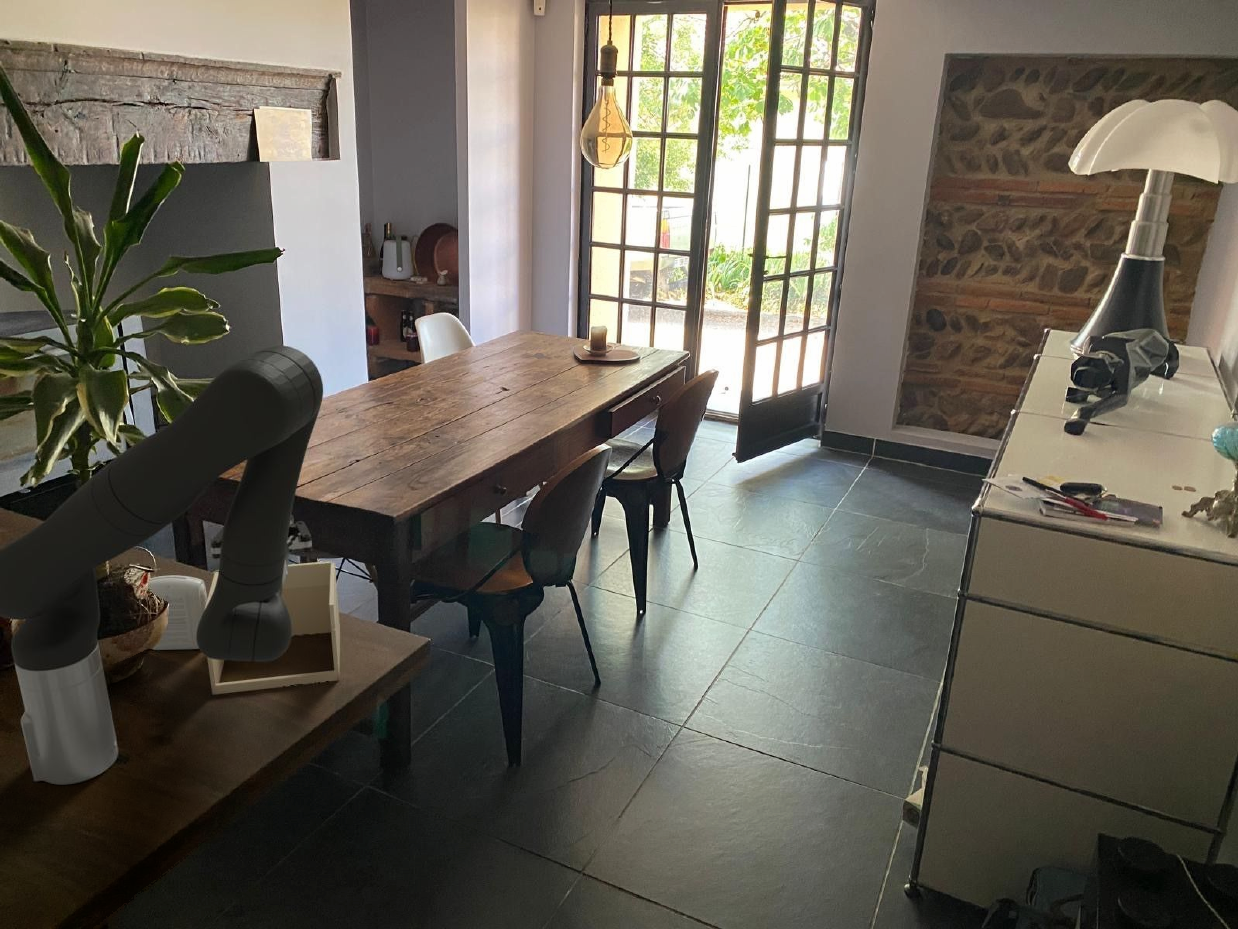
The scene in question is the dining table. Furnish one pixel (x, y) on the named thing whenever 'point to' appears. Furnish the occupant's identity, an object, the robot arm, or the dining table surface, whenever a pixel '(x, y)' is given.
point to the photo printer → (180, 609)
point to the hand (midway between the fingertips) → (267, 519)
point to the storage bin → (296, 624)
